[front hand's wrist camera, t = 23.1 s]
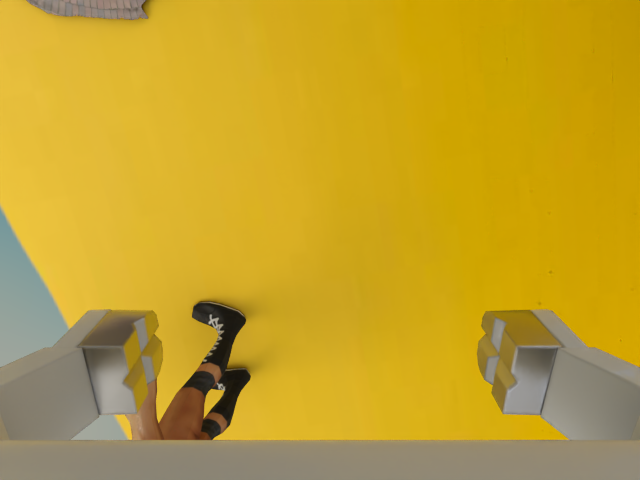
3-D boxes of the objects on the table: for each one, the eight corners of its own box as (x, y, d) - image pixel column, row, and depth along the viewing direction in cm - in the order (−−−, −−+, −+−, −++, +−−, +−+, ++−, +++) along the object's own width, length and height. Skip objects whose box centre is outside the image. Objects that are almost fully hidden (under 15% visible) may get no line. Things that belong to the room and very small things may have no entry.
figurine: (181, 248, 43) (-69, 559, 16) (241, 247, 43) (99, 559, 16) (205, 426, 52) (75, 825, 25) (256, 426, 52) (182, 825, 25)
